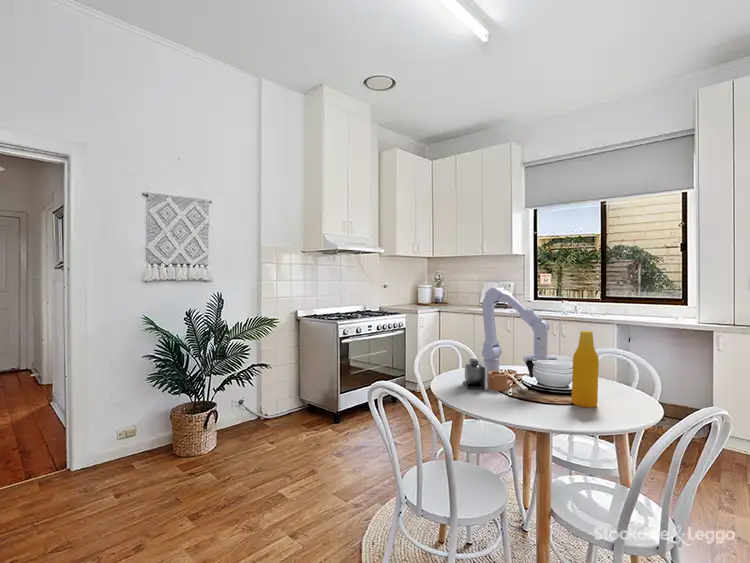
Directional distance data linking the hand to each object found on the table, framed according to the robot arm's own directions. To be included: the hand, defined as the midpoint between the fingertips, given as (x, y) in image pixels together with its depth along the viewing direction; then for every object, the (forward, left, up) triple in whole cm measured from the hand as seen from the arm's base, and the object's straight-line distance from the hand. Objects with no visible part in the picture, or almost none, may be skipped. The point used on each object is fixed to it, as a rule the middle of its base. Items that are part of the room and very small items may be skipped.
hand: (539, 377), depth 188 cm
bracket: (-2, -16, -5) cm, 17 cm away
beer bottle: (+23, +9, -5) cm, 25 cm away
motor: (0, -29, -4) cm, 30 cm away
